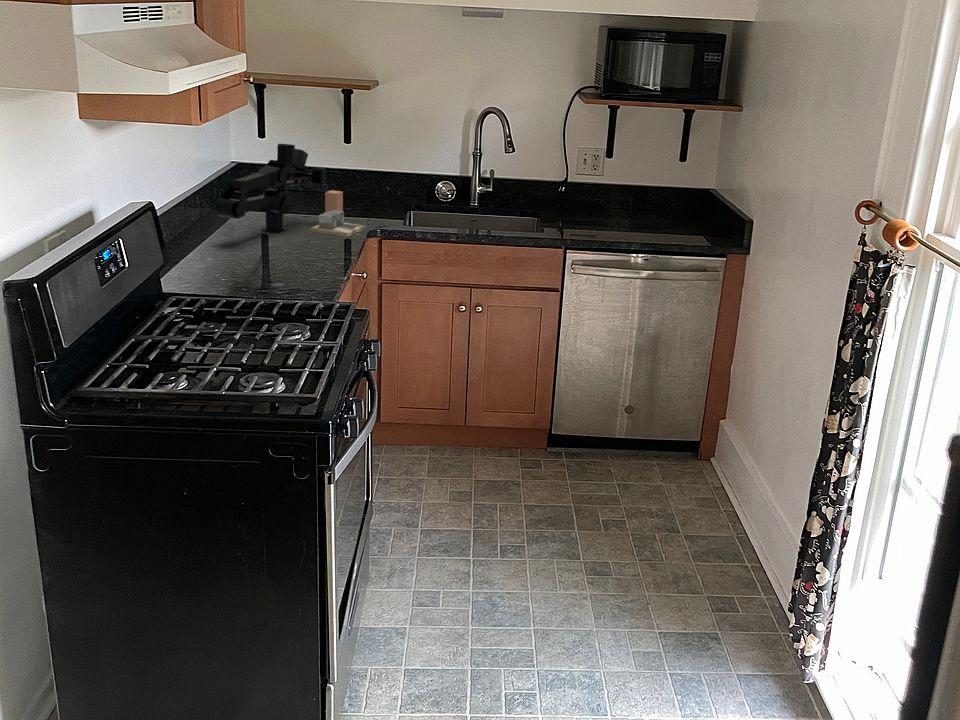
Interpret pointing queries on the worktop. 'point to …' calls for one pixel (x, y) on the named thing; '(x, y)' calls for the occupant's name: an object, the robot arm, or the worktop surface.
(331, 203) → the terracotta block
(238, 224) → the worktop surface
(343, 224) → the maple board
